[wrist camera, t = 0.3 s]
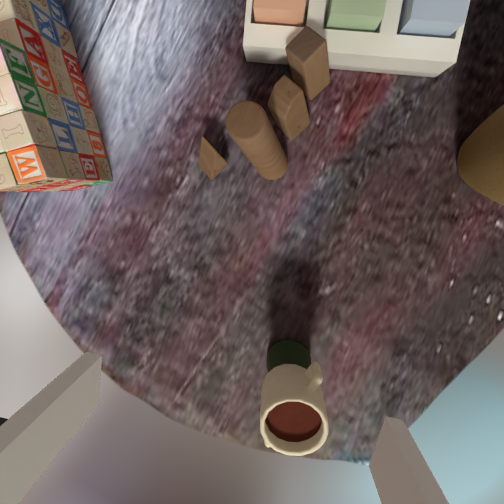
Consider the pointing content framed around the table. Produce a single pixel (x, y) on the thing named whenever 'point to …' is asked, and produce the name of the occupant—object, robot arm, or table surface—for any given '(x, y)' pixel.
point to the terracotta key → (279, 12)
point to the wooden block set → (275, 111)
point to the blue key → (432, 17)
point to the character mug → (292, 401)
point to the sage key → (355, 15)
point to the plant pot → (485, 158)
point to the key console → (355, 43)
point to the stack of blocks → (45, 104)
